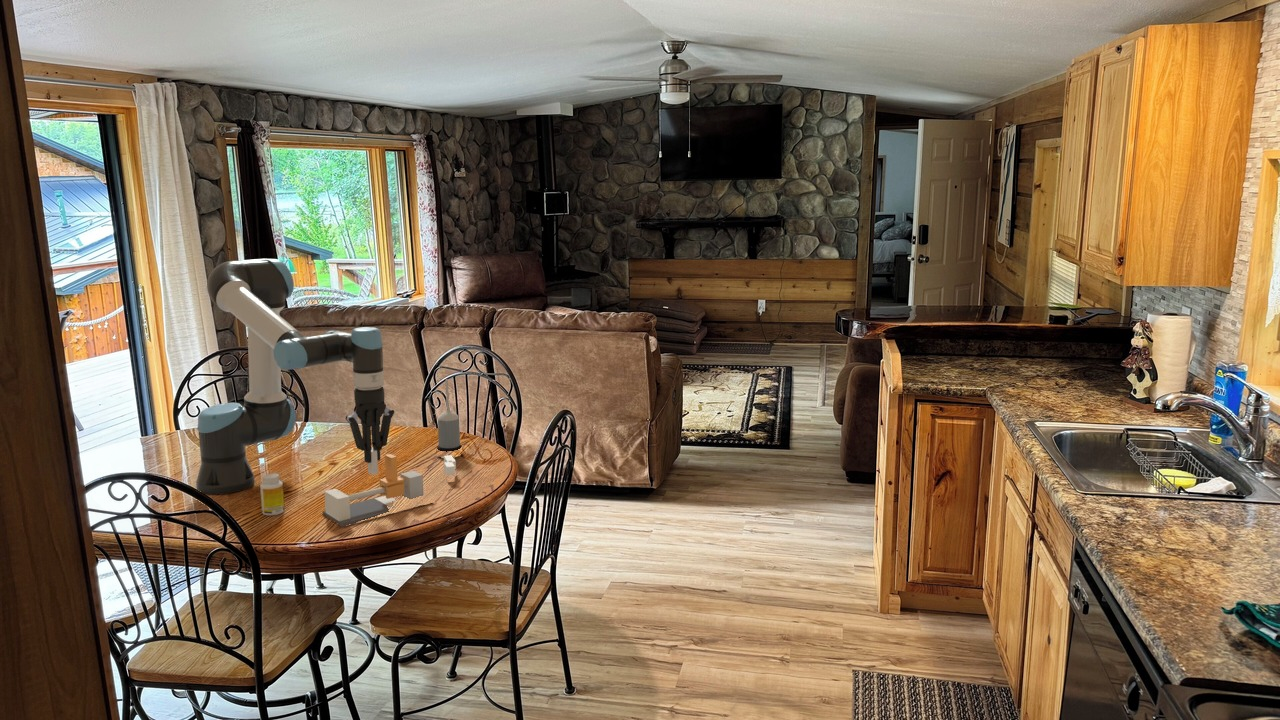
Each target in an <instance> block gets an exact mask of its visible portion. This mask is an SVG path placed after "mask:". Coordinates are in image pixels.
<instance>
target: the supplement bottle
mask: <svg viewBox="0 0 1280 720" xmlns="http://www.w3.org/2000/svg"><path fill="white" fill-rule="evenodd" d="M259 489H260V491H259V492H260V503H261V513H262V514H263V515H265V516H267V517H268V516H269V517H270V516H278V515H280V514H283V513H284V512H285V507H286V506H285V497H284V484H283V481H282V480H280V475H279V474H278V473H276V472H275V473H274V472H273V473H267V474H264V475H263V476H262V482H261V483H260V484H259Z"/></svg>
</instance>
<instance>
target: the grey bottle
mask: <svg viewBox="0 0 1280 720" xmlns="http://www.w3.org/2000/svg"><path fill="white" fill-rule="evenodd" d="M448 381H449V379H445V394H446V397H445V406H446V407H445V408H446V410H444V411H443V412H442V413H441V414H440V415H439V416H438V418H437V432H438V436H437V438H438V445H436V450H437V449H438V450H440V451H446V452H447V451H454V450H458V449H460V448H461V447H462V448H463V445H462V444H461V439H460V437H461V435H460V434H461V432H460V417H459V416H458V414H457V413H456V412H454V409H452V410H451V408H450V403H449V402H450V400H449V399H450V391H449V382H448ZM451 387H452V388H451V389H452V390H451V392H453V385H452V386H451ZM451 394H452V400H455V399H454V395H453V393H451Z"/></svg>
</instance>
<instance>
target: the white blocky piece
mask: <svg viewBox="0 0 1280 720" xmlns="http://www.w3.org/2000/svg"><path fill="white" fill-rule="evenodd" d="M455 469H456V470H457V461H456V459H455V458H453V457H452V455H446V456H444V458H443V471H444V472H445V473H446V475H447V476H449V475H454V474H455Z"/></svg>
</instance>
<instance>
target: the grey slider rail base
mask: <svg viewBox="0 0 1280 720" xmlns="http://www.w3.org/2000/svg"><path fill="white" fill-rule="evenodd" d="M400 478H403V479H404V495H402V496H404V497H407V498H409V499H413V498H416V497H419V496H423V495H425V494H424V476H423V474H421V473H420V472H418V471H415V470H411V471H407V472H402V473H400ZM323 492H324V506H325V507H324V508H325V509H324V510H322V515H323V516H324V517H326V518H327V517H328V519H329V518H330V519H329V520H330V521H332V520H333V521H332V522H334V521H335V522H336V523H335V522H334V523H335V524H337V523H338V524H337V525H338V526H340V525H341V527H342V526H343V527H342V528H345V527H344V526H346V525H349V524H353V523H356V522H358V521H361V520H365V519H368V518H371V517H375V516H377V515H380V514H383V513H386V512H389V511H388V510H389V509H388V508H387V506H389V507H392V506H393V505H392V503H393V502H394V501H396V500H395V499H394V498H389V499H387V498H386V495H383V496H381V495H380V494H381V493H385V492H386V487H381V488H380V487H377V488H372V489H369V490H365V491H361V492H356V493H352V494H348V495H347V494H346V493H345V492H342V491H340V490H339V489H337V488H333V489H331V488H330V489H328V490H324V491H323ZM376 495H377V497H373V496H376ZM378 495H380V496H378ZM368 497H373V498H369V499H366V500H361V499H364V498H368ZM357 500H361V501H357ZM352 501H357V502H354V503H350V502H352ZM392 501H393V502H392ZM391 502H392V503H391ZM393 507H394V506H393ZM393 507H392V508H393ZM395 508H396V507H395ZM353 525H354V524H353ZM346 527H347V526H346Z"/></svg>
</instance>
